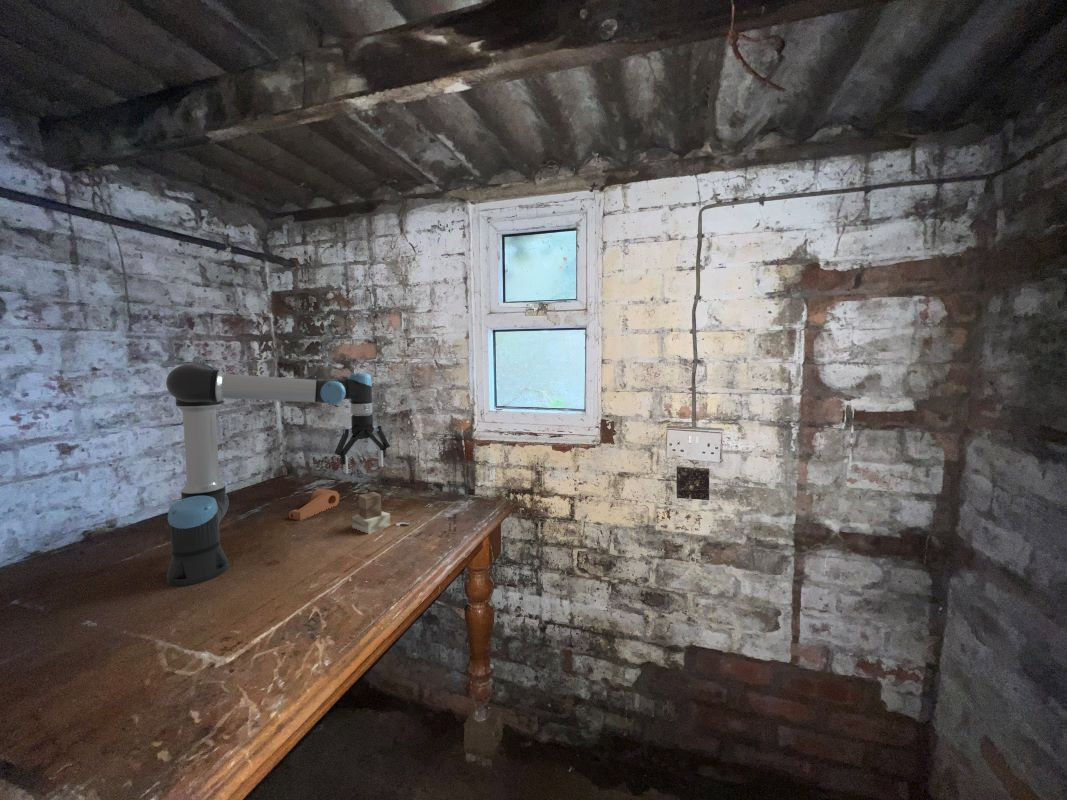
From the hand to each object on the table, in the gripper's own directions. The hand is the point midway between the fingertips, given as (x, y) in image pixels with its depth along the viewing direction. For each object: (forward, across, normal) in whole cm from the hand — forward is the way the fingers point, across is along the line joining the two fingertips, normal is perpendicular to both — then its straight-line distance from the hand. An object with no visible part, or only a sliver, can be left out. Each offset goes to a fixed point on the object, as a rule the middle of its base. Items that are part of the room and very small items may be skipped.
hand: (363, 469), depth 164 cm
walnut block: (+18, +2, 0) cm, 18 cm away
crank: (+24, -8, +33) cm, 41 cm away
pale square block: (+23, +2, 0) cm, 23 cm away
